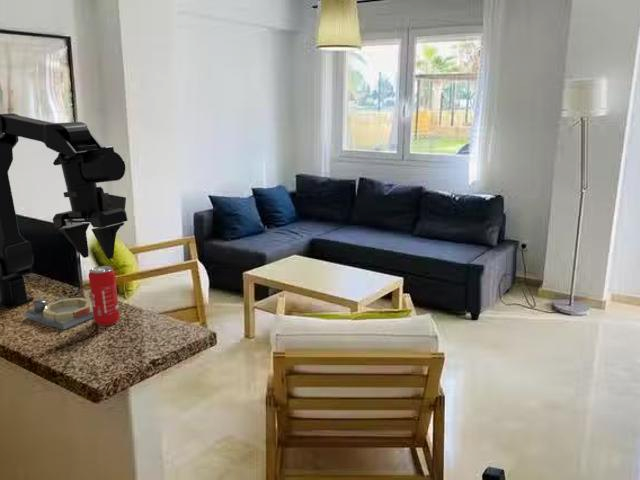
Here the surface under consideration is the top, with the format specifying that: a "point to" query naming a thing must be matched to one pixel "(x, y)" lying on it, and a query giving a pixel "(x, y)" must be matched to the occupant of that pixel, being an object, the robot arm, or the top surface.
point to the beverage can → (104, 295)
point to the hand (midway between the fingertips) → (98, 258)
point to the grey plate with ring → (61, 312)
